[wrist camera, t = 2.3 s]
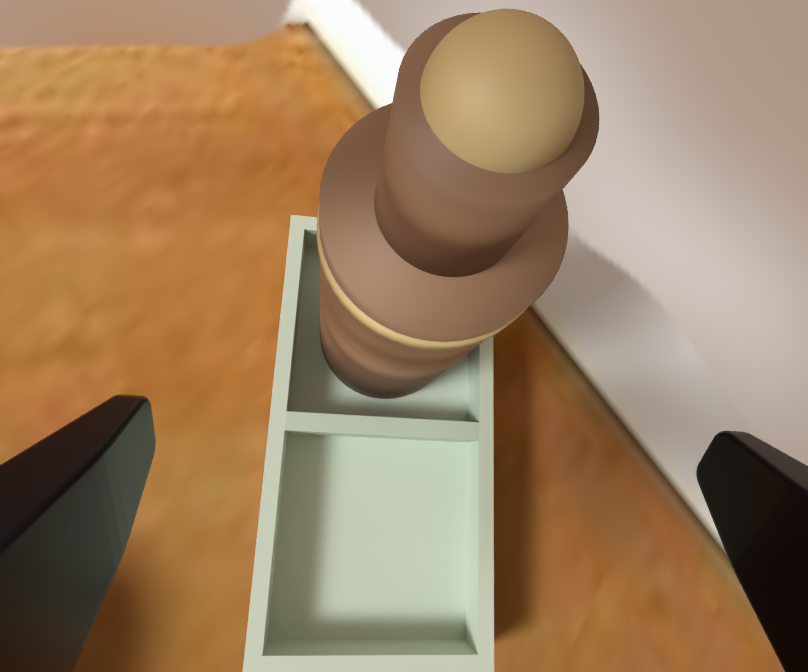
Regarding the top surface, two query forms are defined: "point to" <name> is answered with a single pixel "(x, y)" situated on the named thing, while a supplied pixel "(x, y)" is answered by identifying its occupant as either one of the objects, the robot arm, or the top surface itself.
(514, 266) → the pepper mill
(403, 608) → the caddy
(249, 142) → the top surface
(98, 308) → the top surface
